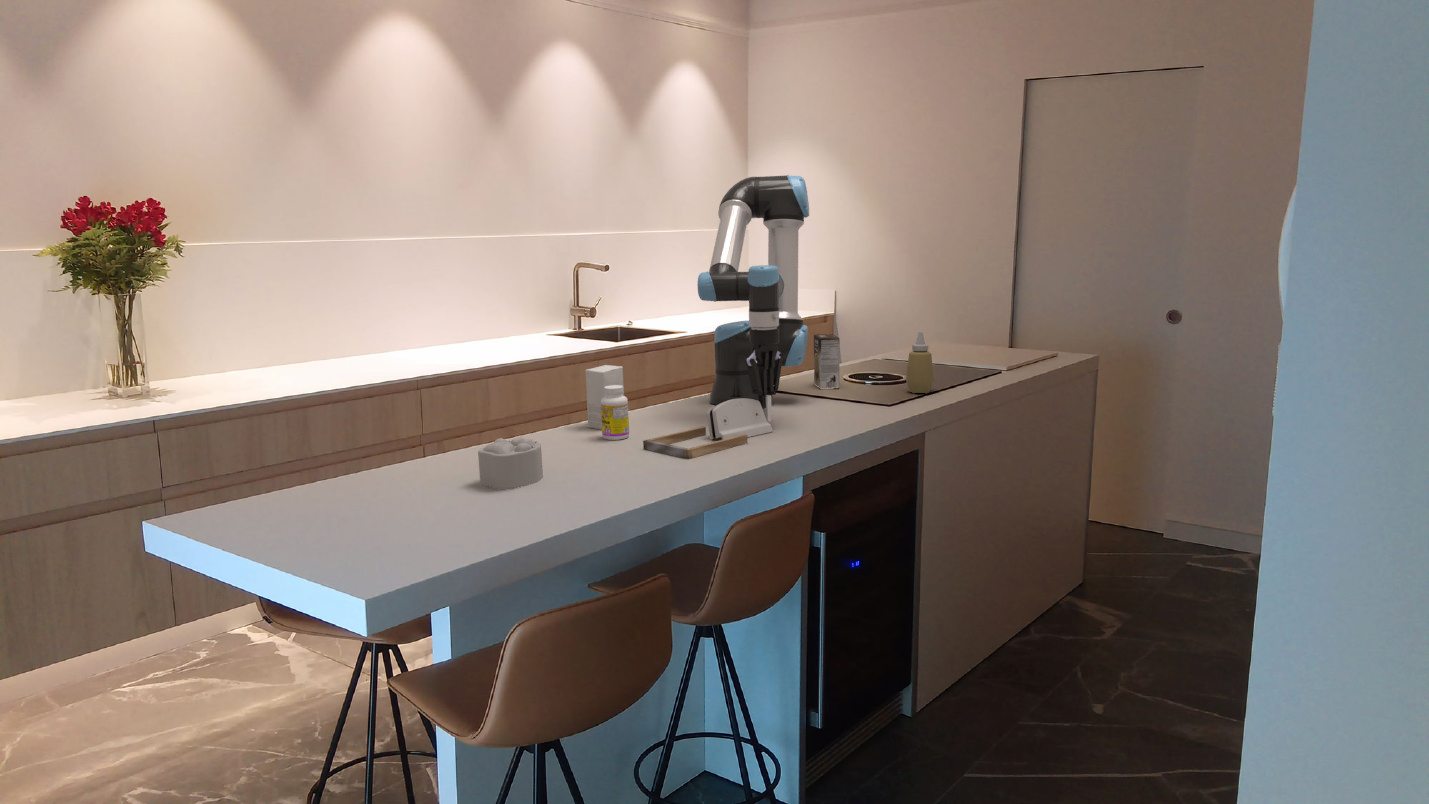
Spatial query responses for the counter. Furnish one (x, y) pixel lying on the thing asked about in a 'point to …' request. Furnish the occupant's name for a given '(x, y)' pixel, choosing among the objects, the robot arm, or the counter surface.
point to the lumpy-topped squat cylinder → (510, 463)
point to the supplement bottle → (614, 413)
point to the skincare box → (600, 390)
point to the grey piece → (737, 419)
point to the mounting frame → (663, 446)
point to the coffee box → (826, 360)
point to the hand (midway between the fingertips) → (765, 420)
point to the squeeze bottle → (919, 367)
